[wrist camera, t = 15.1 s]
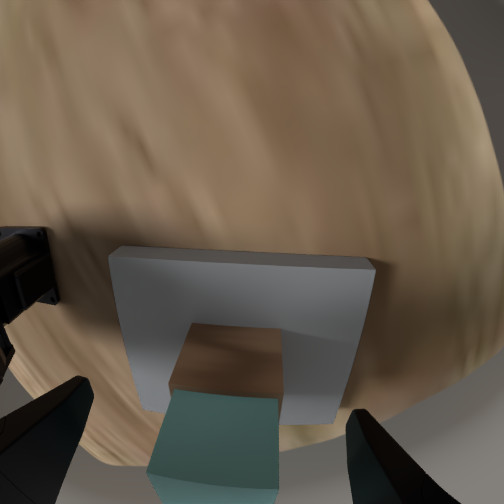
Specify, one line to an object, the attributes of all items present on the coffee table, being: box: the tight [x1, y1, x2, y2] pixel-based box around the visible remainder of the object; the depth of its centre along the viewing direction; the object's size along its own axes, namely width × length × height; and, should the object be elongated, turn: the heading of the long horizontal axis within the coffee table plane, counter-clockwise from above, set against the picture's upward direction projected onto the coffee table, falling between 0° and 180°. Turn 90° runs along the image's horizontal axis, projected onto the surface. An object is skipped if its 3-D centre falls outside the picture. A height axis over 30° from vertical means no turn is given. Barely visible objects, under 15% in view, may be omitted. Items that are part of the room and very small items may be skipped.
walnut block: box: [168, 323, 284, 420], centre depth 16 cm, size 6×6×6 cm
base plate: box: [108, 246, 376, 425], centre depth 20 cm, size 16×14×2 cm
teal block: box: [146, 389, 279, 504], centre depth 12 cm, size 5×5×5 cm
